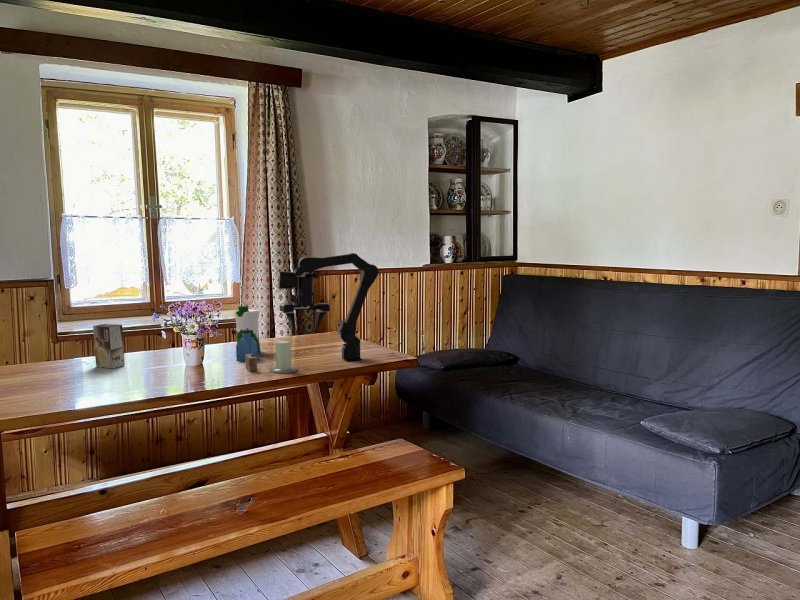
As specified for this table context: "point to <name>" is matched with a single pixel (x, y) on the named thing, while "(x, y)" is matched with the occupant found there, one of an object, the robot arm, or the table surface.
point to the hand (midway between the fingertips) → (304, 329)
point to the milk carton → (247, 323)
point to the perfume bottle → (246, 346)
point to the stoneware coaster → (283, 370)
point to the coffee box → (109, 345)
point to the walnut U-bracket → (250, 362)
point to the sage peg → (283, 355)
